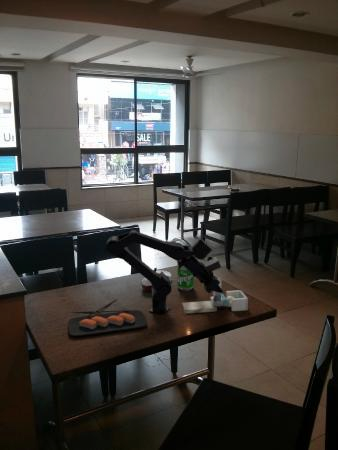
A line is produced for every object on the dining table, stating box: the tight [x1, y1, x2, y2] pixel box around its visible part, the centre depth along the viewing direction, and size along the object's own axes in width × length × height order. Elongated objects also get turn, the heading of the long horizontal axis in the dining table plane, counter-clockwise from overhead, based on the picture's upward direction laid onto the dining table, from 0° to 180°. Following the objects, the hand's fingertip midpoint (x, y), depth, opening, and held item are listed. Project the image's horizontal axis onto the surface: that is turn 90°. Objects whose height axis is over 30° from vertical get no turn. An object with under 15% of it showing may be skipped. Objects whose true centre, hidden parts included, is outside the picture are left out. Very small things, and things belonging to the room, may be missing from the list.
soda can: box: [177, 266, 195, 292], centre depth 188 cm, size 8×8×12 cm
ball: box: [225, 296, 235, 308], centre depth 170 cm, size 4×4×4 cm
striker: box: [209, 277, 228, 307], centre depth 168 cm, size 6×6×11 cm
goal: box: [225, 289, 249, 312], centre depth 170 cm, size 6×9×5 cm
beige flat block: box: [181, 300, 218, 314], centre depth 168 cm, size 13×7×2 cm, turn 98°
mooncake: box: [156, 269, 172, 282], centre depth 200 cm, size 12×12×4 cm
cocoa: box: [140, 267, 158, 293], centre depth 185 cm, size 10×6×12 cm, turn 27°
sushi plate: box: [67, 299, 148, 337], centre depth 162 cm, size 29×30×4 cm
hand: (221, 290), depth 168 cm, fingers closed on striker, 3 cm apart
